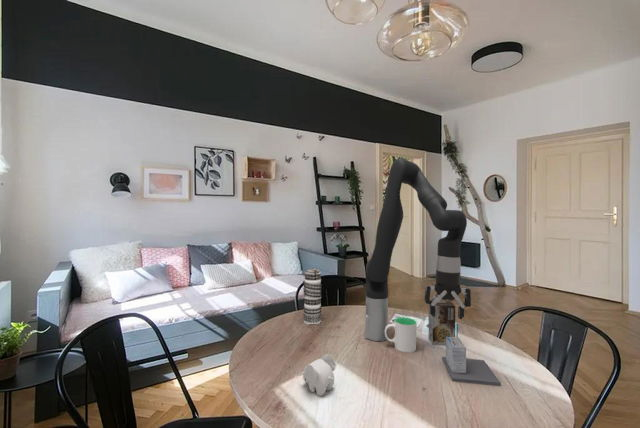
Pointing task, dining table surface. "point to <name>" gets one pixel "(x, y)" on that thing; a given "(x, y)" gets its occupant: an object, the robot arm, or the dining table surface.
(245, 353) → the dining table surface
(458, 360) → the medicine box
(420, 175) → the robot arm
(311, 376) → the elephant figurine
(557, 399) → the dining table surface
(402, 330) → the mug
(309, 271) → the decorative candle
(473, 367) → the rubber mat
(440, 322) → the coffee box
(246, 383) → the dining table surface
